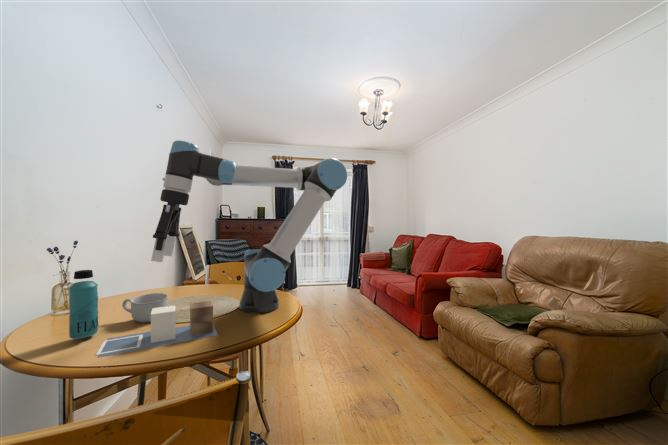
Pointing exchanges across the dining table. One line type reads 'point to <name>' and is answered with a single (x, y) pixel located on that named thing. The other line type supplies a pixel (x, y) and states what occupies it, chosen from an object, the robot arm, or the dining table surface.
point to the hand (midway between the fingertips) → (162, 258)
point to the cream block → (163, 323)
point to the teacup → (145, 305)
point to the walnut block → (201, 318)
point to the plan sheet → (146, 341)
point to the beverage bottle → (83, 306)
